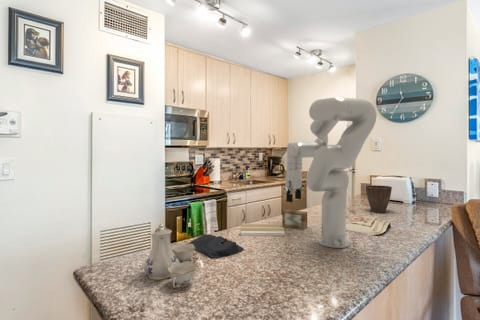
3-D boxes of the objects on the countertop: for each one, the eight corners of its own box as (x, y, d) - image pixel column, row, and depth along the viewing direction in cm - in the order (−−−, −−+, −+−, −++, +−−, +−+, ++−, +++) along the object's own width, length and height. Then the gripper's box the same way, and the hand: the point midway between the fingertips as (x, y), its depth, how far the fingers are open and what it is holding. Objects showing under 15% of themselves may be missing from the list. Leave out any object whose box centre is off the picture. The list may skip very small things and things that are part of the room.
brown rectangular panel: (307, 227, 142) (307, 212, 142) (303, 229, 139) (303, 213, 138) (285, 224, 149) (285, 209, 149) (282, 225, 146) (282, 210, 146)
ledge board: (281, 228, 140) (281, 222, 140) (284, 235, 128) (284, 229, 128) (241, 228, 141) (241, 222, 141) (240, 235, 129) (240, 229, 129)
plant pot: (361, 211, 178) (361, 186, 178) (371, 208, 188) (371, 184, 188) (386, 215, 167) (386, 188, 167) (395, 211, 177) (395, 186, 177)
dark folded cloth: (215, 238, 126) (215, 228, 126) (246, 252, 109) (246, 240, 109) (184, 245, 117) (184, 234, 117) (213, 262, 100) (213, 248, 99)
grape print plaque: (318, 233, 144) (382, 242, 126) (317, 221, 143) (382, 229, 125) (336, 218, 166) (393, 224, 148) (335, 208, 166) (393, 213, 147)
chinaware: (202, 296, 78) (208, 236, 78) (139, 299, 74) (145, 235, 74) (191, 259, 105) (195, 215, 105) (144, 259, 101) (148, 213, 101)
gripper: (295, 165, 152) (294, 197, 153) (279, 167, 138) (279, 202, 139) (308, 166, 148) (307, 198, 149) (293, 168, 134) (292, 204, 135)
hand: (293, 200), depth 144 cm, fingers open, 9 cm apart
